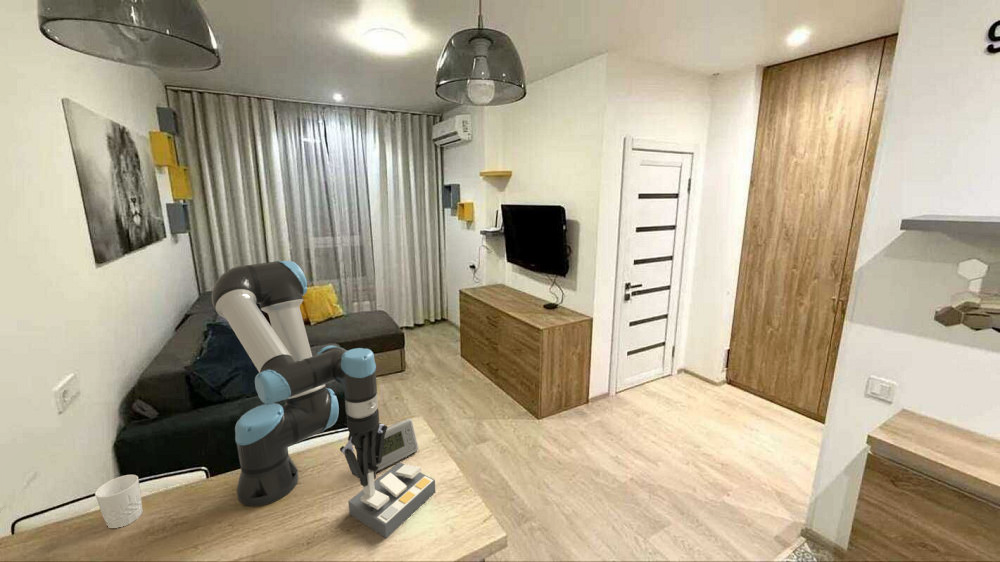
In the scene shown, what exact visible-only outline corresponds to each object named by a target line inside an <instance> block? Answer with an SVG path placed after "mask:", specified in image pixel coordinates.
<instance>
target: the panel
mask: <svg viewBox="0 0 1000 562" xmlns="http://www.w3.org/2000/svg"><path fill="white" fill-rule="evenodd" d="M404 465H405V464H404V463H403V462H400V461H398V462H397V463H395V465H394V466H392V467H391V468H390V469H388V471H386V472H385V473H383V474H382V475H380V476H379V477H378V478H376V479H374V485H375V490H377V491H379V492H381V493H383V494H385V495H387V496H389V501H388V502H386V503H385V504H384V505H383V506H382V507H380V508H379V509H378V510H377V509H375V508H373V507H372V506H371V507H369V506H368V504H366V503H364V502H362V501H361V497H362V496H363V495H364V494H365V493H364V492H363V489H362V490H361V491H360V492H358V493H357V494H355V495H354V496H353V497H352V498H350V499H349V500H348V501H347V502H348V511H349V515H350V516H351V517H353V518H355V519H356V520H357V521H359V522H361V523H362V524H364V525H365V526H366V527H368V528H370V529H371V530H373V531H374V532H375V533H377V534H378V535H380V536H382V537H383V538H385V539H388V538H389V537H390V536H391V535H392V534H393V533H394V532H395V531H397V529H398V528H399V527H400V526H401V525H403V524H404V522H406V521H407V520H408V518H410V517H411V516H412V515H413V514H414V513H415V512H416V511H417V510H418V509H419V508H420V507H421V506H422V505H424V504H425V503H426V502H427V501H428V499H430V498H431V497H432V496H433V495H434V494H435V493H436V479H434V478H432V477H429V476H428V475H426V474H424V473H422V472H419V473H418V474H417V475H416V476H415V477H413V478H412V479H411V478H405V479H404V478H403V477H402V476H398V475H396V471H397V470H398V469H400V468H401V467H402V466H404ZM390 472H391V473H392V474H393V475H394V476H396V477H397V478H398V479H399V480H400V481H402V482H403V483H404V484H405V485H406V486H407V489H405V490H404V491H403V492H402V493H401V494H400V495H398V496H397V497H395V496H393V495H392V494H391V493H390V492H387V491H386V489H385V488H384V487H383V486H382V485H381V484H379V483H380V480H381V479H383V478H384V477H385V476H386V475H388V474H389V473H390Z"/></svg>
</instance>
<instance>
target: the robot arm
mask: <svg viewBox="0 0 1000 562" xmlns="http://www.w3.org/2000/svg"><path fill="white" fill-rule="evenodd" d="M306 278H307V277H306V276H305V273H304V271H303V270H302V268H301V267H300V266H299V265H298V263H296V262H294V261H291V260H275V261H268V262H261V263H255V264H247V265H246V264H244V265H237V266H234V267H231V268H230V269H228V270H226V271H225V272H224V273H222V274H221V275H220V276H219V277H218V278H217V280H216V281H215V283H214V285H213V287H212V291H211V303H212V307H213V308H214V310H215V311H216V313H217V315H219V317H222V318H224V319H225V320H226V321H227V323H228V324H229V326H230V328H231V329H232V330H233V332H234V333H235V336H236V337H237V339H238V340H239V342H240V344H241V345H242V346H243V347H242V348H244V351H245V352H246V353H247V355H248V356H249V359H251V362H252V363H253V365H254V367H255V368H256V370H257V371H258V373H257V374H256V375H255V377H254V385H255V386H254V388H255V391H256V393H257V395H258V399H259V400H260V401H261V402H262V403H263V404H261V405H257V406H255V407H253V408H252V409H250V410H248V411H247V412H244V414H242V415H241V416H240V418H239V419H237V421H236V424H235V427H234V432H235V437H234V440H235V444H236V448H237V453H238V454H237V455H238V459H239V465H240V470H241V471H240V473H239V474H240V475H239V479H238V484H237V487H236V494H237V500H238V502H239V503H240V504H241V505H243V506H246V507H261V506H266V505H269V504H272V503H274V502H276V501H278V500H280V499H282V498H283V497H285V496H287V495H288V494H290V492H291V491H292V490H294V488H295V487H296V485H297V483H298V481H299V472H298V468H297V466H296V465H295V463H294V461H293V460H292V457H291V456H290V454H289V447H291V446H294V445H295V444H298V443H300V442H302V441H305V440H307V439H309V438H311V437H313V436H315V435H317V434H319V433H320V434H321V433H323V432H325V430H327V429H329V428H332V426H334V425H335V424H336V422H337V421H338V418H339V412H340V411H339V410H340V408H339V401H338V398H337V395H336V394H335V392H334V391H333V389H331V388H327V386H326V385H327V384H329V383H333V382H336V383H339V384H341V385H343V393H344V405H345V413H346V426H347V427H346V428H347V430H348V432H349V434H348V437H347V443H346V444H345V445H342V446H340V449H339V451H340V453H341V454H344V457H345V460H346V462H347V465H348V467H349V470H350V472H351V475H353V476H355V477H356V478H358V479H359V484H360V486H362V490H363V492H364V493H365V494H367V495H368V496H370V497H371V496H372V495H374V494H375V485H374V481H375V480H377V474H376V473H377V472H378V471H377V470H378V467H377V464H380V463H381V461H382V454H383V445H384V437H385V433H386V430H387V427H388V426H387V425H386V424H383V423H381V422H380V414H379V413H380V412H379V399H378V386H377V369H376V368H377V363H376V361H375V355H374V352H373V351H372V350H371V349H370V348H363V347H357V348H352V349H349V350H347V349H345V348H343V347H341V346H336V345H326V346H324V347H323V348H321V349H320V350H319V351H317V353H316V355H313V353H312V350H311V346H310V342H309V338H308V335H307V331H306V326H305V323H304V319H303V316H302V315H303V314H302V312H301V308H300V306H301V305H302V303H303V302H304V297H303V296H304V295H306V294H307V291H308V282H307V279H306ZM257 304H259V307H260V308H259V307H258V305H257ZM262 311H263V312H264V313H267V315H268V317H269V321H270V323H269V321H268V320H267V318H266V317H265V315H264V314H263V312H262ZM281 401H284V403H285V404H284V405H281V404H279V403H277V402H281ZM354 449H355V450H354ZM354 451H355V452H356V454H355V452H354ZM376 471H377V472H376Z"/></svg>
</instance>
